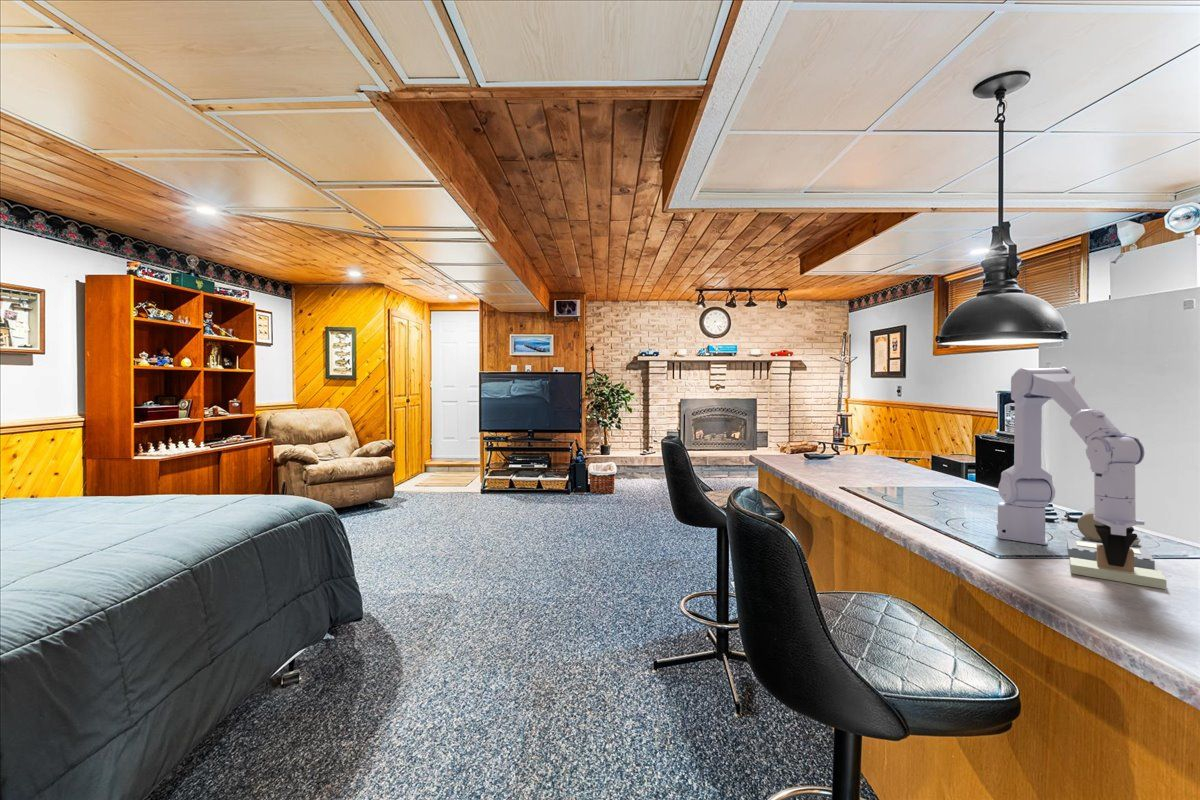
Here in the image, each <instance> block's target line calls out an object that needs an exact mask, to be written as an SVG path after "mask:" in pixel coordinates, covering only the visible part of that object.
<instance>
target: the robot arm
mask: <svg viewBox="0 0 1200 800" xmlns="http://www.w3.org/2000/svg"><path fill="white" fill-rule="evenodd" d="M1075 377H1076V376H1075V375H1073V374H1072V372H1071V371H1070V369H1069V368H1067V367H1065V366H1061V367H1043V368H1041V367H1040V368H1036V367H1035V368H1033V367H1032V368H1026V367H1020V368H1018V369H1017V370H1016V371H1015V372H1014V373H1013V374H1012V376H1011V378H1010V399H1011V400H1012V401H1014V428H1013V429H1014V432H1013V433H1014V440H1013V441H1014V442H1013V443H1014V449H1013V451H1014V453H1013V457H1014V459H1013V462H1014V463H1013V465H1012V466H1010V467H1009V468H1007V469H1005V470H1003V471H1002V472H1001V473H1000V480H999V483H998V485H997V486H998V489H997V491H998V494H999V496H1000V498H1001V499H1002V500H1003V501H999V502H998V503H997V523H996V531H997V538H998V539H1003V540H1009V541H1014V542H1015V541H1016V542H1022V543H1029V544H1036V545H1037V544H1038V545H1044V546H1047V545H1048V543H1049V542H1048V539H1049V538H1048V536H1046V507H1049V506H1050V504H1051V503H1052V502H1053V501H1054V500H1055V497H1056V488H1055V486H1054V483H1053V475H1052V474H1050V473H1049V472H1048V471H1046V470H1044V469H1043V468H1042V427H1043V426H1042V420H1043V419H1042V418H1043V417H1042V415H1043V412H1042V411H1043V409H1042V408H1043V406H1044V404H1046V403H1047V402H1048V401H1050V400H1053V401H1054V402H1056V404H1058V405H1059V407H1061V408H1062V409H1063V410H1064V411H1065V412H1066V413H1067V414H1068V415H1069V416H1070V418H1071V419H1070V420H1069V426H1071V428H1072V429H1073V431H1074V432H1075V433H1076V434H1077V435H1078V437H1079V438H1081V440H1082V442H1084V444H1085V445H1086V446H1087V447H1086V448H1085V454H1086V457H1087V459H1088V461H1089V463H1090V470H1091V472H1092V473H1094V474H1093V477H1094V478H1093V479H1094V480H1093V481H1094V483H1093V484H1094V485H1093V486H1094V494H1093V495H1094V496H1093V497H1094V508H1095V515H1093V519H1094V520H1095V521H1098V522H1100V523H1102V524H1098V523H1095V524H1094V526H1095V528H1096V532H1097V533H1098V535H1099V536H1100V538H1101V540H1102V541H1101V543H1102V544H1103V545H1104V549H1105V554H1106V559H1107V562H1108V564H1109V565H1113V566H1119V567H1124V565H1125V562H1126V558H1127V555H1128V551H1129V549H1130V547H1132V546H1131V545H1132V543H1133V542H1134V541H1135V539H1136V538H1137V537H1138V534H1137V533H1134V532H1135V528H1134V526H1136V525H1140V526H1145V523H1146V522H1145V520H1144V519H1138V518H1136V466H1138V465H1139V464H1140V463H1142V462H1143V460H1144V458H1145V447H1144V446H1143V443H1142V442H1141V441H1140V439H1139V438H1138V437H1136V436H1133V435H1128V434H1127V432H1126V433H1125V432H1124V433H1123V432H1121V430H1120V429H1118V428H1117V427H1116V425H1115V424H1114V423H1112V421H1111V420H1110V419H1109V418H1108V417H1107V416H1106V414H1105V413H1104V412H1103V411H1102V410H1098V409H1091V407H1089V405H1088V404H1087V402H1086V401H1085V399H1084V398H1083V397H1082V395H1081V394H1080V392H1079V391H1078V390H1077V388H1076V387H1075V382H1076V378H1075Z"/></svg>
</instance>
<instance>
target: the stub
mask: <svg viewBox="0 0 1200 800" xmlns="http://www.w3.org/2000/svg"><path fill="white" fill-rule="evenodd" d="M1069 569H1070V574H1074V575H1079V576H1085V577H1091V578H1098V579H1103V580H1108V581H1109V580H1110V581H1114V582H1122V583H1128V584H1133V585H1139V586H1145V587H1152V588H1157V589H1163V590H1167V579H1166V577H1165V575H1164V574H1163V572H1162V571H1161V570H1156V569H1155V570H1151V569H1145V568H1138V567H1134V551H1133V550H1132V549H1131V548H1130V549H1129V551H1128V555H1127V558H1126V562H1125V565H1124V567H1119V566H1113V565H1109V564H1108V562H1107V559H1106V554H1105V549H1104V545H1101V544H1097V561H1092V560H1085V559H1079V558H1072V557H1070V558H1069Z"/></svg>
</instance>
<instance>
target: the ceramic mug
mask: <svg viewBox="0 0 1200 800" xmlns="http://www.w3.org/2000/svg"><path fill="white" fill-rule="evenodd" d="M1093 515H1095V507H1092V508H1090V509H1088V510H1087V511H1086V512H1084V513H1083V514H1082V515H1081V516H1080V517H1079V519H1078V520H1077V528H1078V531H1079V532H1080V533H1081V534H1082V535H1083V537H1086V538H1087V539H1089V540H1091V541H1093V542H1094V541H1095V542H1102V540H1101V538H1100V536H1099V535H1098V533H1097V532H1096V528H1095V526H1094V524H1095V523H1098V524H1102V523H1100V522H1098V521H1095V520H1094V519H1093ZM1140 542H1141V538H1139V536H1137V538H1136V539H1135V541H1134V542H1133V543H1132V545H1131V546H1130V547H1136V546H1138V545H1140Z"/></svg>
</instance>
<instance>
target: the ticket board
mask: <svg viewBox="0 0 1200 800" xmlns="http://www.w3.org/2000/svg"><path fill="white" fill-rule="evenodd" d="M1097 544H1101V545H1103V544H1102V542H1096V541H1095V542H1094V541H1089V540H1088V541H1086V540H1079V539H1074V538H1073V539H1072V538H1067V539H1066V548H1067V555H1068V558H1069V559H1070V557H1072V558H1079V559H1085V560H1092V561H1097ZM1130 548H1131V549H1132V550H1133V551H1134V567H1138V568H1145V569H1151V570H1156V567H1155V566H1156V562H1155V559H1154V558H1153V556H1152V554H1151V553H1150V552H1149V550H1148V549H1147V548H1138V547H1133V546H1130Z"/></svg>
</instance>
